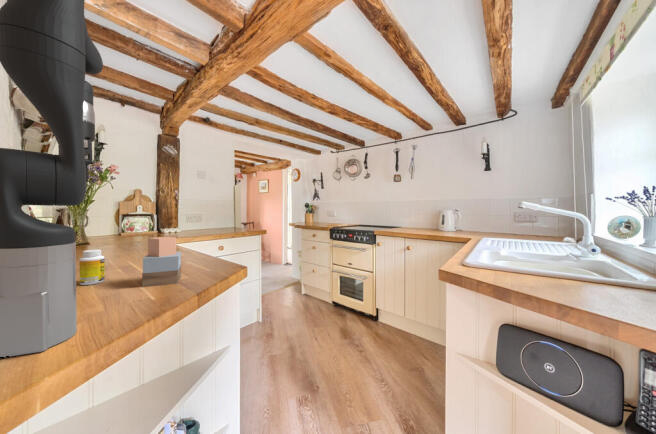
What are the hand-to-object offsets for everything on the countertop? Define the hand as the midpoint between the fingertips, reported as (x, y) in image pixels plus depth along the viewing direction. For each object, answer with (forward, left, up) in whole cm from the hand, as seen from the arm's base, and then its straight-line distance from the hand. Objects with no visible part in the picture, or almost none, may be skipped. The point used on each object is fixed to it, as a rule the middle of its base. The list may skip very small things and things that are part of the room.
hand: (75, 183), depth 60 cm
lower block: (+9, -17, -30) cm, 36 cm away
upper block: (+9, -17, -26) cm, 32 cm away
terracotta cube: (+9, -17, -21) cm, 29 cm away
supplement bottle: (+14, +2, -30) cm, 33 cm away
